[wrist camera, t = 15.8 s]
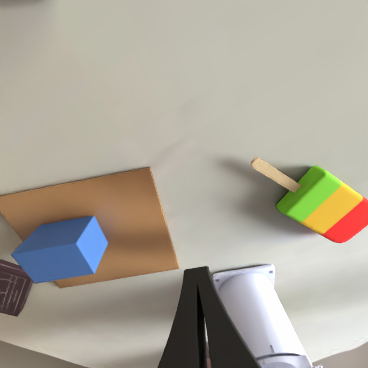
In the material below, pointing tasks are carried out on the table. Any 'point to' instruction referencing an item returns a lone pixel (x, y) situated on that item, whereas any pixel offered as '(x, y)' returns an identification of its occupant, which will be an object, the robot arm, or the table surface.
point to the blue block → (62, 250)
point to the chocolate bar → (13, 288)
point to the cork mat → (103, 221)
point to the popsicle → (320, 202)
